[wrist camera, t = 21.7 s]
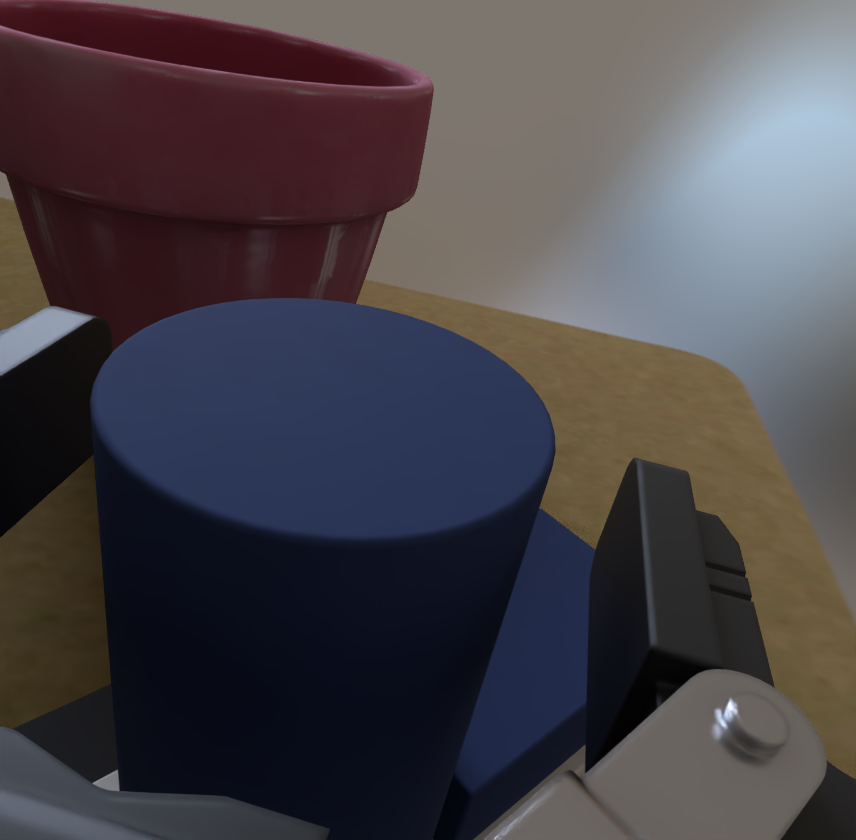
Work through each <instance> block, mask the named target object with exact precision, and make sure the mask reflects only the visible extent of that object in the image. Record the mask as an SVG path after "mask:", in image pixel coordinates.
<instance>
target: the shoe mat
mask: <svg viewBox="0 0 856 840" xmlns="http://www.w3.org/2000/svg"><path fill="white" fill-rule="evenodd" d="M13 730H16V731H18V732H19V733H21V734H22V735H24V736H25V737H27V738H28V739H29V740H31V741H32V742H34V743H35V744H37V745H38V746H39V747H41V748H42V749H44V750H45V751H47V752H48V753H49V754H51V755H52V756H54V757H55V758H57V759H58V760H60V761H61V762H62V763H64V764H65V765H67V766H68V767H70V768H71V769H72V770H74V771H75V772H77V773H78V774H80V775H81V776H83V777H84V778H85V779H87V780H88V781H90V782H91V783H94V782H96V781H97V780H99V779H101V778H103V777H105V776H107V775H109V774H110V773H112V772H114V771H116V770H118V765H117V751H116V738H115V725H114V712H113V699H112V686H111V684H110V685H108V686H106V687H103V688H101V689H99V690H97V691H95V692H93V693H90V694H88V695H86V696H84V697H82V698H79V699H77V700H75V701H73V702H71V703H68V704H66V705H64V706H62V707H60V708H57V709H55V710H53V711H51V712H49V713H47V714H44V715H42V716H40V717H38V718H36V719H33V720H31V721H29V722H27V723H25V724H22V725H20V726H18V727H16V728H14V729H13Z"/></svg>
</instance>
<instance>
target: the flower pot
mask: <svg viewBox="0 0 856 840" xmlns="http://www.w3.org/2000/svg"><path fill="white" fill-rule="evenodd" d="M432 98H433V84H432V81H431V80H430V79H429V78H428V77H427V76H426V75H424V74H422V73H420V72H419V71H416V70H414V69H412V68H410V67H408V66H405V65H403V64H400V63H397V62H393V61H390V60H387V59H384V58H381V57H378V56H375V55H371V54H367V53H363V52H360V51H356V50H352V49H349V48H345V47H341V46H337V45H333V44H329V43H325V42H321V41H317V40H312V39H308V38H304V37H300V36H296V35H291V34H287V33H282V32H278V31H273V30H269V29H265V28H260V27H254V26H249V25H244V24H239V23H233V22H228V21H223V20H217V19H212V18H206V17H201V16H195V15H189V14H183V13H178V12H171V11H165V10H157V9H152V8H145V7H138V6H129V5H122V4H114V3H107V2H99V1H89V0H0V171H1V172H3V173H5V174H6V176H7V179H8V182H9V185H10V188H11V191H12V195H13V197H14V201H15V204H16V207H17V210H18V213H19V216H20V219H21V222H22V226H23V229H24V232H25V235H26V238H27V240H28V243H29V246H30V249H31V252H32V255H33V258H34V261H35V264H36V266H37V269H38V272H39V275H40V278H41V281H42V284H43V287H44V289H45V292H46V295H47V298H48V301H49V303H50V306H57V307H61V308H65V309H69V310H73V311H77V312H80V313H84V314H88V315H92V316H96V317H100V318H102V319H104V320H105V321H106V322H107V323H108V324H109V327H110V329H111V334H112V348H113V351H114V350H115V349H117V348H118V347H119V346H120V345H121V344H122V343H123V342H125V341H126V340H127V339H128V338H130V337H131V336H133V335H134V334H136V333H138V332H139V331H141V330H142V329H144V328H146V327H148V326H150V325H152V324H154V323H156V322H158V321H160V320H162V319H165V318H168V317H171V316H173V315H176V314H179V313H182V312H185V311H189V310H193V309H196V308H200V307H204V306H209V305H215V304H220V303H225V302H233V301H241V300H250V299H268V298H302V299H320V300H329V301H339V302H346V303H353V304H356V302H357V299H358V296H359V293H360V291H361V288H362V285H363V282H364V280H365V277H366V274H367V271H368V268H369V266H370V263H371V260H372V257H373V254H374V251H375V248H376V245H377V242H378V238H379V235H380V232H381V229H382V226H383V223H384V220H385V217H386V215H387V212H389V211H392V210H394V209H396V208H398V207H400V206H402V205H403V204H405V203H406V202H408V201H409V200H410V199H411V198H412V197H413V196H414V194H415V191H416V189H417V185H418V180H419V174H420V169H421V164H422V159H423V153H424V148H425V142H426V136H427V130H428V124H429V119H430V113H431V106H432Z"/></svg>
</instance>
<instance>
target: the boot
mask: <svg viewBox="0 0 856 840" xmlns="http://www.w3.org/2000/svg"><path fill="white" fill-rule="evenodd" d="M90 411H91V424H92V438H93V451H94V464H95V477H96V490H97V503H98V516H99V529H100V542H101V555H102V568H103V581H104V594H105V608H106V621H107V634H108V647H109V660H110V673H111V686H112V699H113V712H114V725H115V738H116V751H117V765H118V770H116V771H114V772H112V773H110V774H109V775H107V776H105V777H103V778H101V779H99V780H97V781H96V782H94V783H93V784H94V785H96V786H98V787H100V788H103V789H106V790H111V791H125V792H147V793H169V794H190V795H212V796H226V797H230V798H233V799H236V800H239V801H242V802H246V803H249V804H252V805H255V806H258V807H262V808H265V809H268V810H271V811H274V812H278V813H281V814H284V815H287V816H290V817H294V818H297V819H300V820H303V821H306V822H309V823H313V824H316V825H319V826H322V827H325V828H329V829H330V830H329V836H328V840H483V839H484V838H485V837H486V836H488V835H489V834H490V833H491V832H492V831H493V830H494V829H496V828H497V827H498V826H499V825H500V824H501V823H502V822H504V821H505V820H506V819H507V818H508V817H509V816H510V815H512V814H513V813H514V812H515V811H516V810H517V809H518V808H520V807H521V806H522V805H523V804H524V803H525V802H526V801H528V800H529V799H530V798H531V797H532V796H533V795H534V794H536V793H537V792H538V791H539V790H540V789H541V788H543V787H544V786H545V785H546V784H547V783H548V782H550V781H551V780H552V779H553V778H555V777H556V776H558V775H559V774H561V773H563V772H565V771H568V770H572V771H573V772H574V773H576V774H577V775H578V776H579V777H581V776H583V775H584V774H585V745H586V703H587V660H588V618H589V582H590V573H591V568H592V563H593V558H594V554H595V551H596V550H595V549H593V548H592V547H591V546H590V545H588V544H587V543H586V542H584V541H583V540H582V539H580V538H579V537H578V536H576V535H575V534H574V533H572V532H571V531H570V530H568V529H567V528H566V527H565V526H563V525H562V524H561V523H559V522H558V521H557V520H555V519H554V518H553V517H551V516H550V515H549V514H547V513H546V512H545V511H543V510H542V509H539V507H540V504H541V501H542V497H543V494H544V491H545V488H546V485H547V482H548V479H549V476H550V473H551V470H552V466H553V461H554V456H555V434H554V429H553V426H552V422H551V418H550V415H549V413H548V411H547V409H546V407H545V405H544V403H543V401H542V400H541V399H540V397H539V396H538V394H537V393H536V392H535V390H534V389H533V388H532V387H531V385H530V384H529V383H528V382H527V381H526V380H525V379H524V378H523V377H522V376H521V375H520V374H519V373H518V372H516V371H515V370H514V369H513V368H512V367H511V366H509V365H508V364H507V363H506V362H504V361H503V360H501V359H500V358H498V357H497V356H496V355H494V354H493V353H491V352H490V351H488V350H486V349H485V348H483V347H481V346H479V345H478V344H476V343H474V342H472V341H470V340H468V339H466V338H464V337H462V336H460V335H458V334H456V333H454V332H452V331H449V330H447V329H444V328H442V327H439V326H437V325H434V324H432V323H429V322H426V321H423V320H420V319H417V318H414V317H411V316H407V315H403V314H400V313H396V312H392V311H389V310H384V309H379V308H375V307H370V306H365V305H359V304H353V303H346V302H339V301H329V300H320V299H302V298H268V299H250V300H241V301H233V302H225V303H220V304H215V305H209V306H204V307H200V308H196V309H193V310H189V311H185V312H182V313H179V314H176V315H173V316H171V317H168V318H165V319H162V320H160V321H158V322H156V323H154V324H152V325H150V326H148V327H146V328H144V329H142V330H141V331H139V332H138V333H136V334H134V335H133V336H131V337H130V338H128V339H127V340H126V341H125V342H123V343H122V344H121V345H120V346H119V347H118V348H117V349H115V350H114V351H113V353H112V354H111V355H110V356H109V358H108V359H107V360H106V361H105V363H104V364H103V366H102V368H101V370H100V372H99V374H98V376H97V378H96V380H95V382H94V384H93V389H92V393H91V398H90Z"/></svg>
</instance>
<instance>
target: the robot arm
mask: <svg viewBox="0 0 856 840" xmlns="http://www.w3.org/2000/svg"><path fill="white" fill-rule="evenodd" d="M112 353H113V348H112V334H111V329H110V327H109V324H108V323H107V322H106V321H105V320H104V319H102V318H100V317H96V316H92V315H88V314H84V313H80V312H77V311H73V310H69V309H65V308H61V307H57V306H50V307H47V308H45V309H43V310H41V311H39V312H37V313H36V314H34V315H32V316H30V317H29V318H27V319H25V320H23V321H21V322H20V323H18V324H16V325H14V326H12V327H11V328H9V329H6V330H2V331H0V537H1V536H3V535H4V534H5V533H6V532H7V531H8V530H9V529H10V528H11V527H13V526H14V525H15V524H16V523H17V522H18V521H19V520H20V519H22V518H23V517H24V516H25V515H26V514H27V513H28V512H29V511H30V510H32V509H33V508H34V507H35V506H36V505H37V504H38V503H39V502H40V501H42V500H43V499H44V498H45V497H46V496H47V495H48V494H49V493H51V492H52V491H53V490H54V489H55V488H56V487H57V486H58V485H59V484H61V483H62V482H63V481H64V480H65V479H66V478H67V477H68V476H70V475H71V474H72V473H73V472H74V471H75V470H76V469H77V468H78V467H80V466H81V465H82V464H83V463H84V462H85V461H86V460H87V459H88V458H90V457H91V456H92V455H93V454H94V451H93V438H92V424H91V411H90V398H91V393H92V389H93V384H94V382H95V380H96V378H97V376H98V374H99V372H100V370H101V368H102V366H103V364H104V363H105V361H106V360H107V359H108V358H109V356H110V355H111V354H112ZM745 574H746V570H745V566H744V562H743V558H742V554H741V550H740V546H739V544H738V542H737V541H736V540H735V538H734V537H733V536H732V534H731V533H730V532H729V530H728V529H727V528H726V526H725V525H724V524H723V522H722V521H721V520H720V518H719V517H718V516H716V515H712V514H708V513H704V512H701V511H697V510H696V509H695V504H694V498H693V493H692V487H691V482H690V477H689V474H688V472H687V471H684V470H680V469H676V468H672V467H669V466H665V465H661V464H657V463H653V462H649V461H645V460H642V459H638V458H634V459H632V461H631V462H630V464H629V465H628V467H627V470H626V472H625V474H624V477H623V480H622V482H621V485H620V487H619V490H618V492H617V495H616V498H615V500H614V503H613V505H612V508H611V510H610V513H609V516H608V518H607V521H606V523H605V526H604V528H603V531H602V533H601V536H600V539H599V541H598V544H597V547H596V551H595V554H594V558H593V563H592V568H591V573H590V582H589V618H588V660H587V703H586V745H585V774H584V775H583V776H581V777H579V776H578V775H577V774H576V773H574V772H573V771H572V770H568V771H565V772H563V773H561V774H559V775H558V776H556V777H555V778H553V779H552V780H551V781H550V782H548V783H547V784H546V785H545V786H544V787H543V788H541V789H540V790H539V791H538V792H537V793H536V794H534V795H533V796H532V797H531V798H530V799H529V800H528V801H526V802H525V803H524V804H523V805H522V806H521V807H520V808H518V809H517V810H516V811H515V812H514V813H513V814H512V815H510V816H509V817H508V818H507V819H506V820H505V821H504V822H502V823H501V824H500V825H499V826H498V827H497V828H496V829H494V830H493V831H492V832H491V833H490V834H489V835H488V836H486V837H485V838H484V839H483V840H856V780H855V779H854V778H852V777H850V776H849V775H847V774H845V773H844V772H842V771H840V770H839V769H837V768H836V767H835V766H833V765H832V764H830V763H829V762H828V761H827V760H826V753H825V749H824V746H823V743H822V741H821V739H820V736H819V734H818V732H817V731H816V729H815V728H814V726H813V724H812V723H811V722H810V720H809V719H808V718H807V717H806V715H805V714H804V713H803V712H802V711H801V710H800V709H799V708H798V707H797V706H796V705H795V704H794V703H793V702H792V701H791V700H790V699H789V698H787V697H786V696H785V695H784V694H783V693H781V692H780V691H778V690H777V689H775V687H774V683H773V679H772V675H771V671H770V667H769V663H768V659H767V655H766V651H765V647H764V643H763V639H762V635H761V631H760V627H759V623H758V619H757V615H756V611H755V607H754V603H753V602H751V597H752V595H751V591H750V587H749V582H748V578H745ZM329 830H330V829H329V828H325V827H322V826H319V825H316V824H313V823H309V822H306V821H303V820H300V819H297V818H294V817H290V816H287V815H284V814H281V813H278V812H274V811H271V810H268V809H265V808H262V807H258V806H255V805H252V804H249V803H246V802H242V801H239V800H236V799H233V798H230V797H226V796H212V795H190V794H169V793H147V792H125V791H111V790H106V789H103V788H100V787H98V786H96V785H94V784H93V783H91V782H90V781H88V780H87V779H85V778H84V777H83V776H81V775H80V774H78V773H77V772H75V771H74V770H72V769H71V768H70V767H68V766H67V765H65V764H64V763H62V762H61V761H60V760H58V759H57V758H55V757H54V756H52V755H51V754H49V753H48V752H47V751H45V750H44V749H42V748H41V747H39V746H38V745H37V744H35V743H34V742H32V741H31V740H29V739H28V738H27V737H25V736H24V735H22V734H21V733H19V732H18V731H16V730H13V729H9V728H6V727H3V726H0V840H328V836H329Z"/></svg>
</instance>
